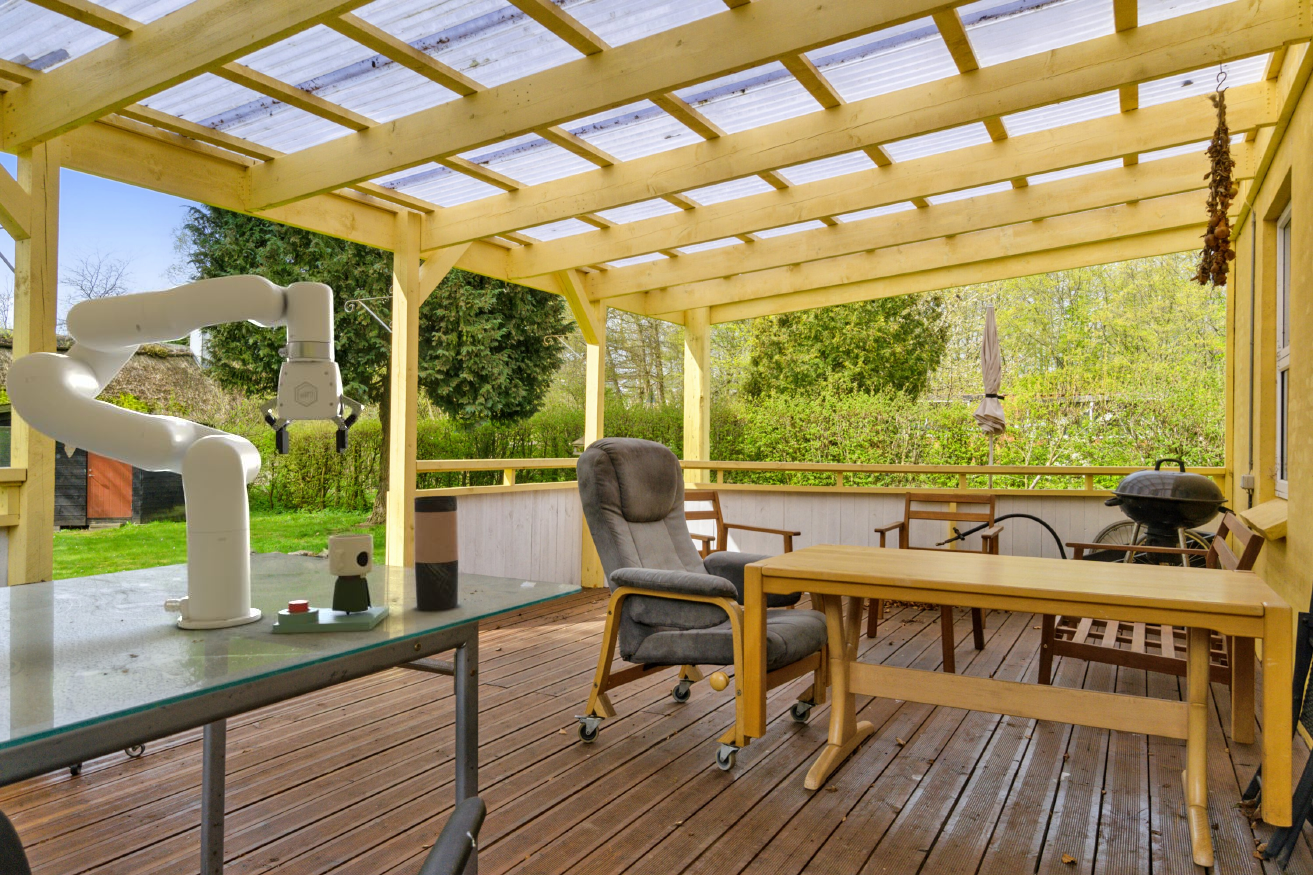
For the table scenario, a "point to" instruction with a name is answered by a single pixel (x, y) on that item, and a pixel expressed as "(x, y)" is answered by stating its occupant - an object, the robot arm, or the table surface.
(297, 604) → the button
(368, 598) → the character mug
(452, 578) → the travel mug
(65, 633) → the table surface
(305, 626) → the scale
